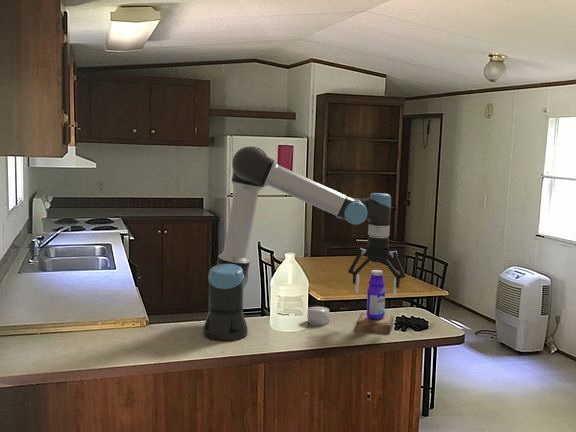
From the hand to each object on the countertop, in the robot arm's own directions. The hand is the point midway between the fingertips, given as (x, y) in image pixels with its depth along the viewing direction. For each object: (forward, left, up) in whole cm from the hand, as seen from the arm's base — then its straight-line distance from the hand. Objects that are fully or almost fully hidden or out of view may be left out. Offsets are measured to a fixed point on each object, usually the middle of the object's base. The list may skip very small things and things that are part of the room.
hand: (375, 294), depth 218 cm
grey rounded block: (-21, -1, -12) cm, 24 cm away
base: (0, 0, -12) cm, 12 cm away
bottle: (0, +1, -9) cm, 9 cm away
